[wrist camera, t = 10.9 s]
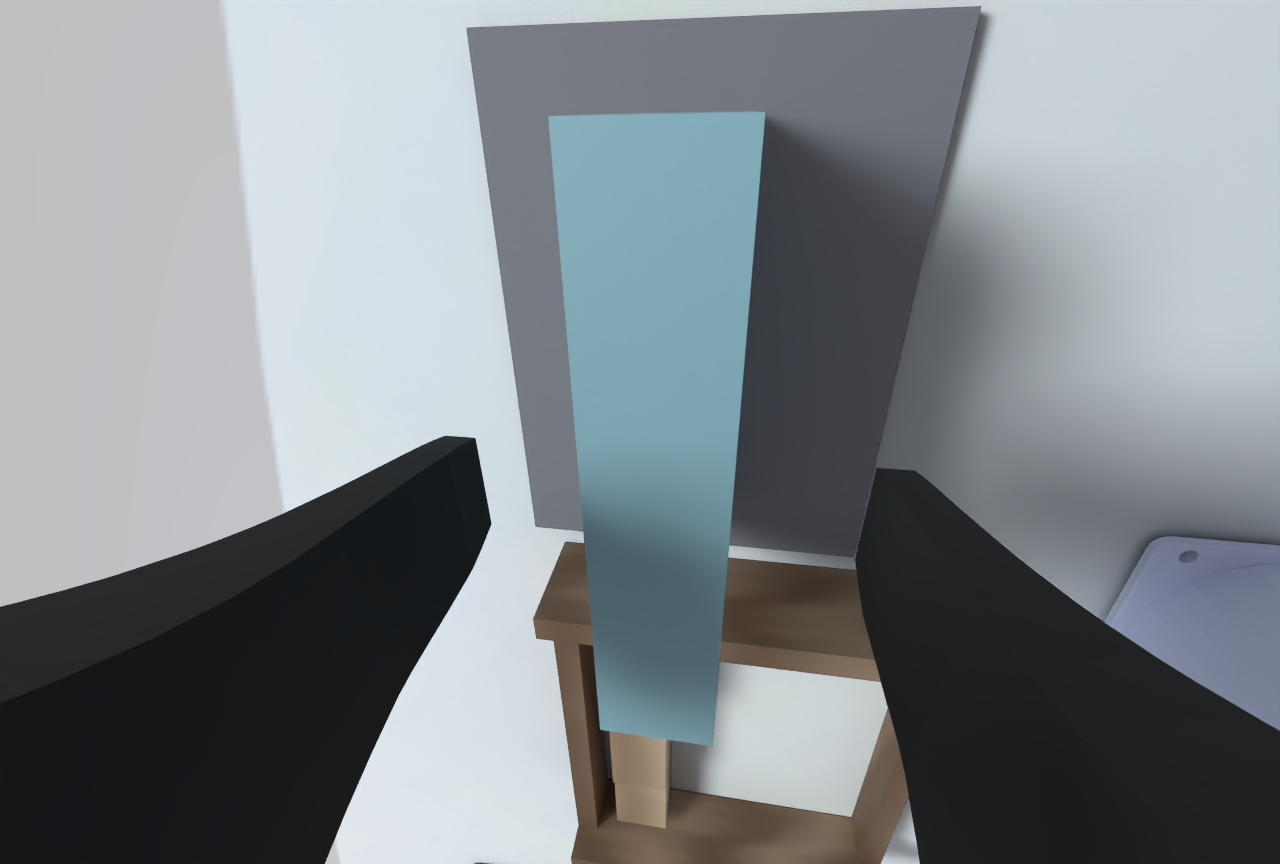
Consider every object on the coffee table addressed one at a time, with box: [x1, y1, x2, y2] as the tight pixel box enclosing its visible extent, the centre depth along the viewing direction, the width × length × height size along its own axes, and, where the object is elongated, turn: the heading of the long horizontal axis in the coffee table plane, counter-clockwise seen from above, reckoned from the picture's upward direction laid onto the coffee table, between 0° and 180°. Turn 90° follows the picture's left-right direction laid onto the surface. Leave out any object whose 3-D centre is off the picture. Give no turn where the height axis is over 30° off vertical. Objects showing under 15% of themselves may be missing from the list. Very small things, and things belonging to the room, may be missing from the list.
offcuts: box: [609, 731, 671, 828], centre depth 25 cm, size 2×15×3 cm, turn 0°
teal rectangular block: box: [548, 111, 765, 746], centre depth 13 cm, size 2×12×9 cm, turn 1°
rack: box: [533, 542, 909, 864], centre depth 24 cm, size 15×18×4 cm
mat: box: [466, 6, 981, 557], centre depth 17 cm, size 12×16×1 cm
